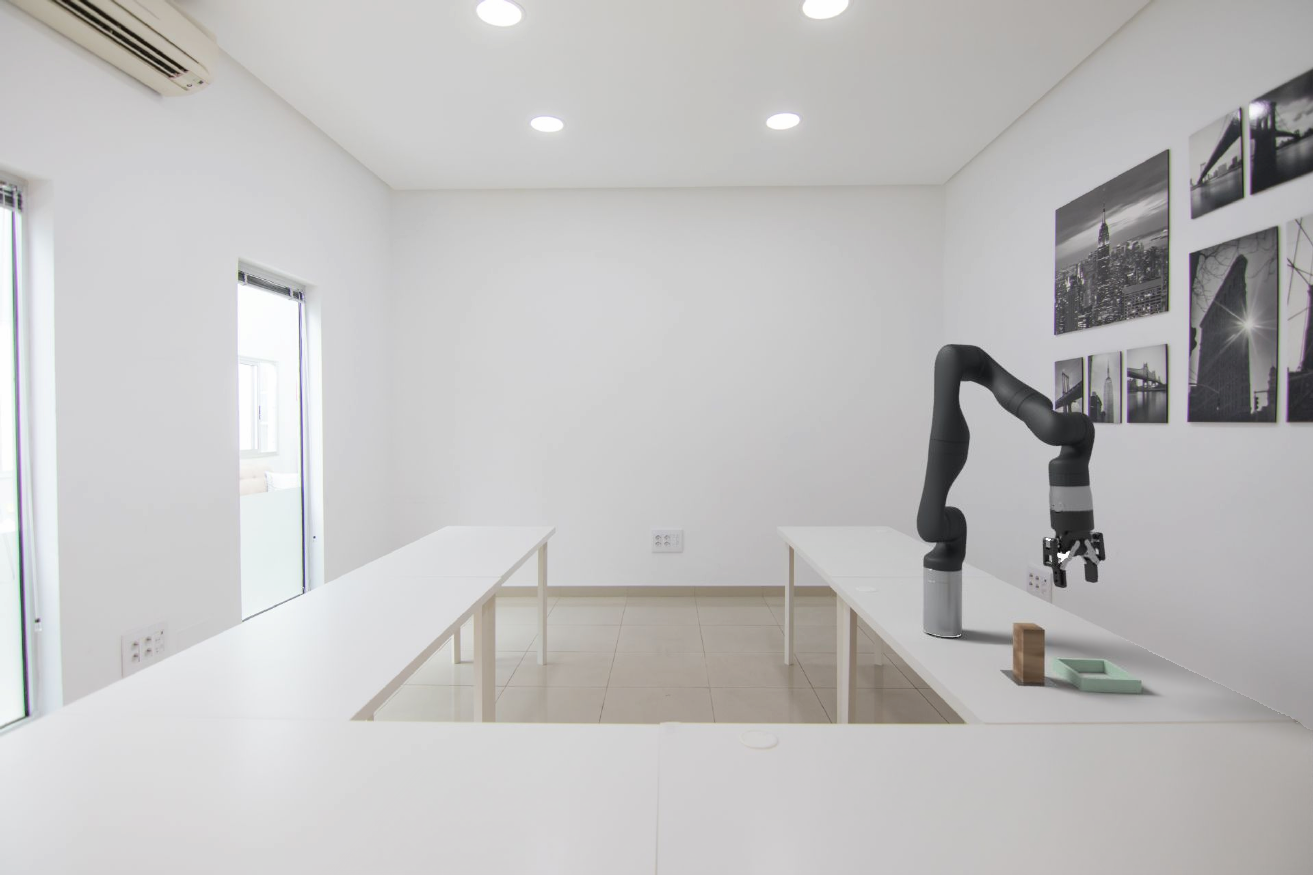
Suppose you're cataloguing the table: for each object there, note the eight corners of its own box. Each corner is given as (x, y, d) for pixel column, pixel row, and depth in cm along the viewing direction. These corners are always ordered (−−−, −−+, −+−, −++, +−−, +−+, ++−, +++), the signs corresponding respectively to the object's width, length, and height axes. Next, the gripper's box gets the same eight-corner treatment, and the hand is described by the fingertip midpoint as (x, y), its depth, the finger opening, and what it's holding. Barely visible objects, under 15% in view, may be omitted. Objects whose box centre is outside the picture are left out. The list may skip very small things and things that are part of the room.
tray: (1051, 673, 130) (1051, 657, 130) (1104, 675, 129) (1105, 659, 129) (1082, 695, 119) (1082, 678, 119) (1141, 697, 118) (1141, 680, 118)
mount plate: (999, 674, 130) (999, 669, 130) (1038, 675, 129) (1038, 670, 129) (1018, 690, 122) (1018, 685, 122) (1059, 691, 121) (1059, 686, 121)
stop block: (1012, 673, 128) (1013, 622, 128) (1033, 674, 127) (1033, 623, 127) (1023, 681, 124) (1023, 629, 123) (1044, 682, 123) (1044, 629, 123)
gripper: (1079, 502, 130) (1084, 577, 130) (1028, 508, 126) (1033, 585, 126) (1114, 505, 123) (1119, 584, 123) (1061, 511, 119) (1067, 592, 119)
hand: (1076, 584), depth 125 cm, fingers open, 8 cm apart
